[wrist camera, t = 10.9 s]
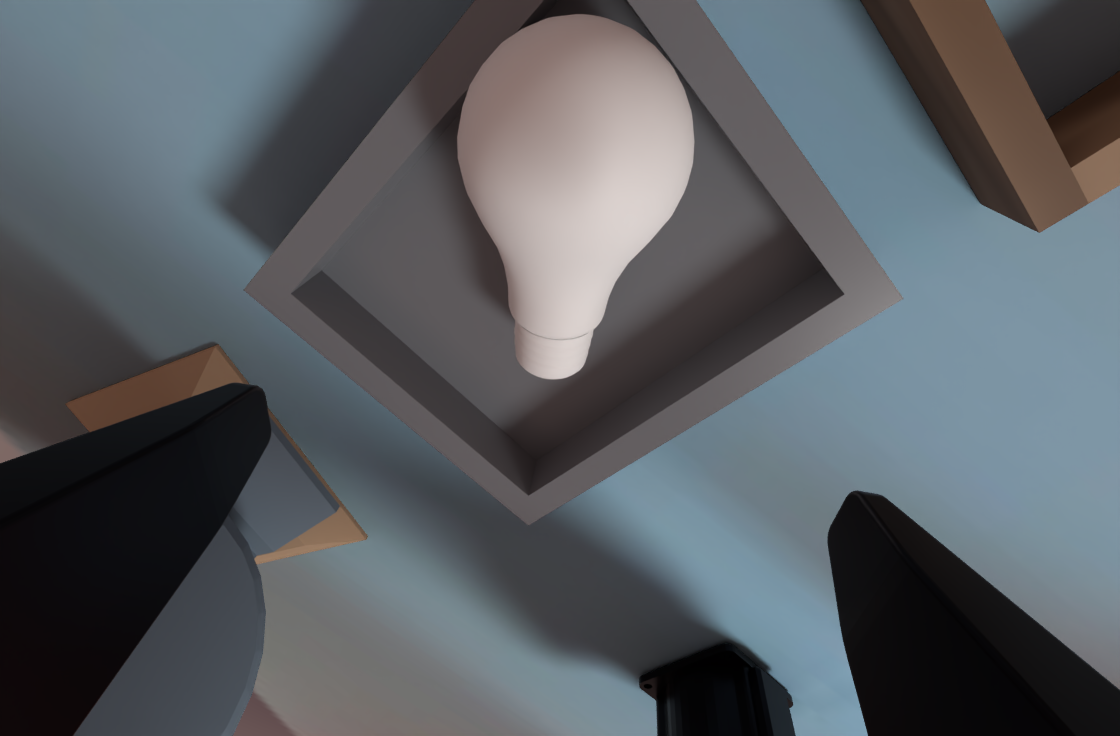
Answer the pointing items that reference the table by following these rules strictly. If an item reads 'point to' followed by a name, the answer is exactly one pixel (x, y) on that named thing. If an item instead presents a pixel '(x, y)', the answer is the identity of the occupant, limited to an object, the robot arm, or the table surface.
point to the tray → (633, 305)
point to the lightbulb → (572, 172)
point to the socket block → (1002, 112)
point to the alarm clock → (212, 571)
